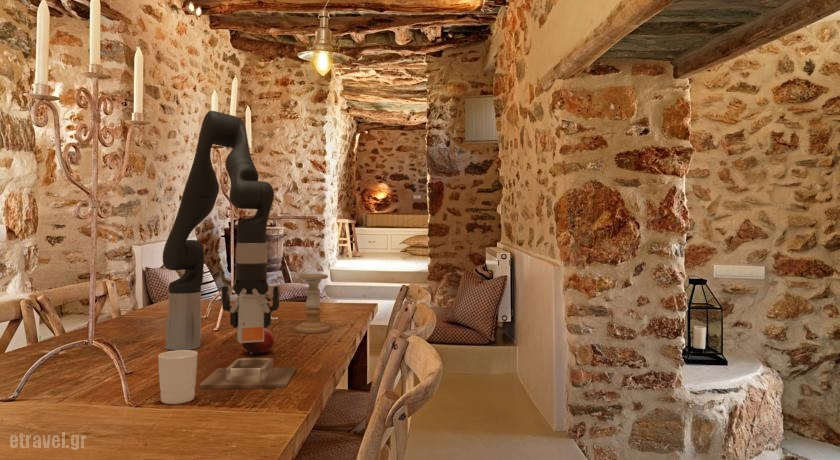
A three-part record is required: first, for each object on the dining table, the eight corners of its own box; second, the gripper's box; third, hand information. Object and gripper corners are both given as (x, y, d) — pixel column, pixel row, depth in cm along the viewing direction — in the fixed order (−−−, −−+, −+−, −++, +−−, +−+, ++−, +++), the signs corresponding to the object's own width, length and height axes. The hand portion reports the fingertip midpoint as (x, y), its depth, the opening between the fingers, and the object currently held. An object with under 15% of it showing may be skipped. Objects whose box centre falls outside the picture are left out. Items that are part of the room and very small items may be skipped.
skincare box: (239, 344, 137) (240, 294, 137) (236, 340, 141) (237, 292, 141) (265, 341, 140) (265, 293, 140) (261, 338, 144) (261, 291, 144)
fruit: (240, 357, 162) (240, 323, 162) (243, 350, 172) (243, 317, 172) (273, 356, 164) (273, 322, 164) (274, 349, 174) (274, 317, 174)
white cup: (172, 407, 118) (173, 360, 118) (150, 401, 122) (150, 355, 122) (204, 398, 125) (205, 353, 125) (182, 392, 129) (182, 348, 129)
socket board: (198, 388, 132) (198, 372, 132) (218, 370, 148) (218, 356, 148) (285, 387, 133) (285, 371, 133) (295, 370, 149) (295, 355, 149)
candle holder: (326, 334, 199) (327, 276, 198) (291, 333, 199) (292, 276, 199) (332, 327, 211) (333, 273, 211) (299, 327, 211) (300, 273, 211)
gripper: (217, 262, 136) (217, 330, 136) (278, 262, 137) (277, 330, 137) (226, 260, 143) (225, 324, 144) (283, 260, 144) (282, 324, 145)
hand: (250, 327), depth 140 cm, fingers closed on skincare box, 7 cm apart
